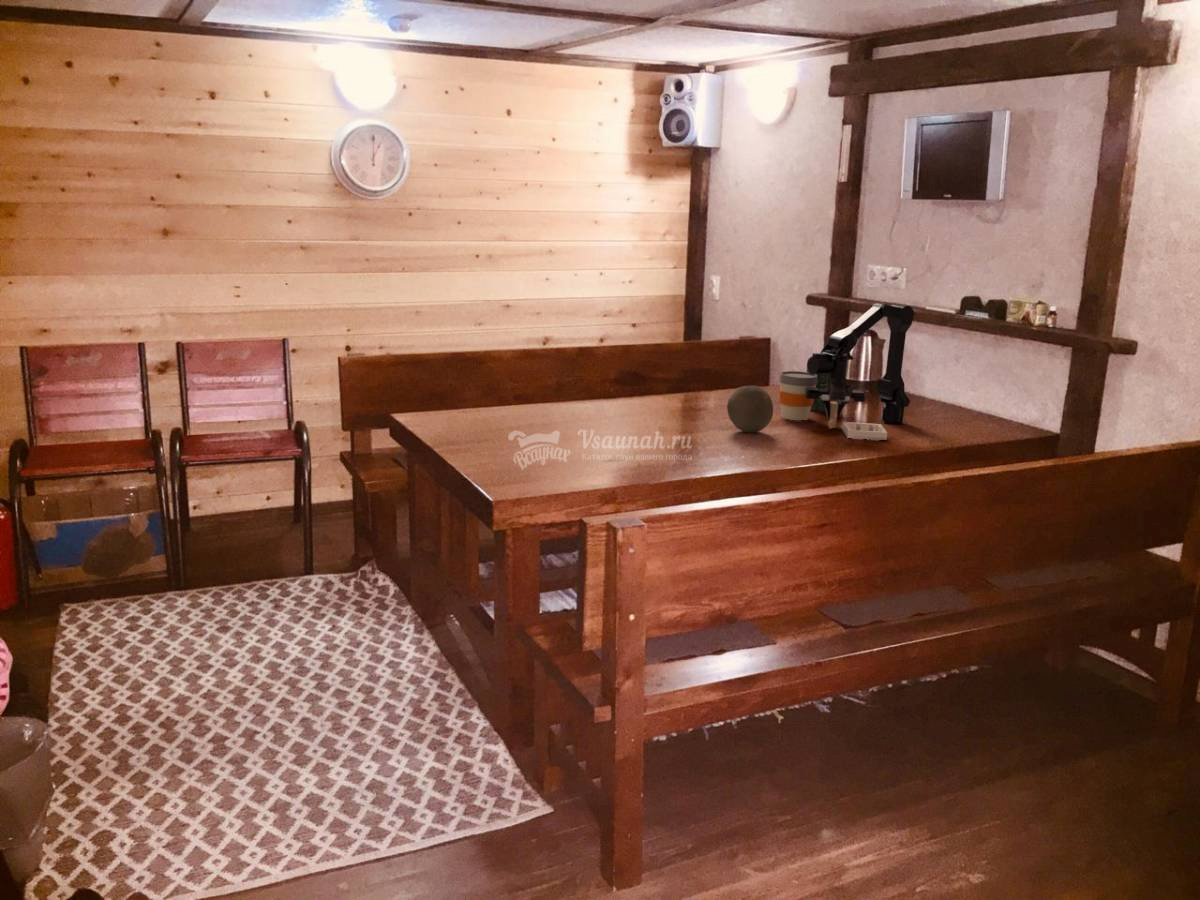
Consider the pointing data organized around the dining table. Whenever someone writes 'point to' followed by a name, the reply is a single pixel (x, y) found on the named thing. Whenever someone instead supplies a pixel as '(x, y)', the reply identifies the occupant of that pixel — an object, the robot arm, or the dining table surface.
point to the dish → (864, 431)
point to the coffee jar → (822, 387)
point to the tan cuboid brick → (833, 414)
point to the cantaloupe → (750, 408)
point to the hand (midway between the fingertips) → (832, 420)
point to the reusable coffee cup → (795, 394)
